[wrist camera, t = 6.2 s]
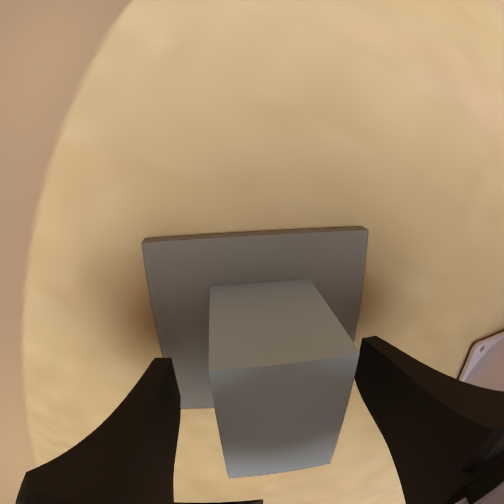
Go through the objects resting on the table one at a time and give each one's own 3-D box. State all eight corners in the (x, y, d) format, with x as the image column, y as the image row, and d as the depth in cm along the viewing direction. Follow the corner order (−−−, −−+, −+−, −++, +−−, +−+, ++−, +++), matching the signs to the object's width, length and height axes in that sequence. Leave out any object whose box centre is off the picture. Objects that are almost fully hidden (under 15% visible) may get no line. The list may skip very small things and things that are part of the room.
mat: (362, 226, 12) (368, 230, 12) (340, 384, 15) (343, 391, 15) (144, 238, 11) (141, 242, 11) (177, 401, 14) (176, 408, 14)
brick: (309, 278, 12) (360, 351, 7) (301, 385, 14) (329, 463, 9) (210, 286, 12) (208, 370, 7) (222, 394, 14) (228, 478, 9)
